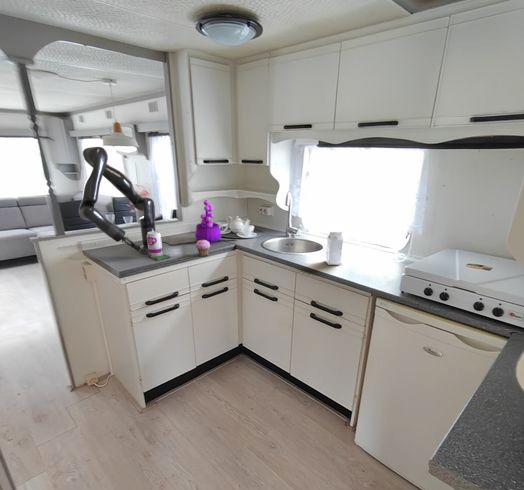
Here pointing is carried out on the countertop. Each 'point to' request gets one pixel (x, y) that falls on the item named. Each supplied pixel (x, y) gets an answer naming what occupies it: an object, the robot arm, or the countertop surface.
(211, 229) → the decorative plant
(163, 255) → the green rectangular block
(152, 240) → the supplement can
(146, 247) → the saucepan
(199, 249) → the cupcake
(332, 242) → the milk carton
